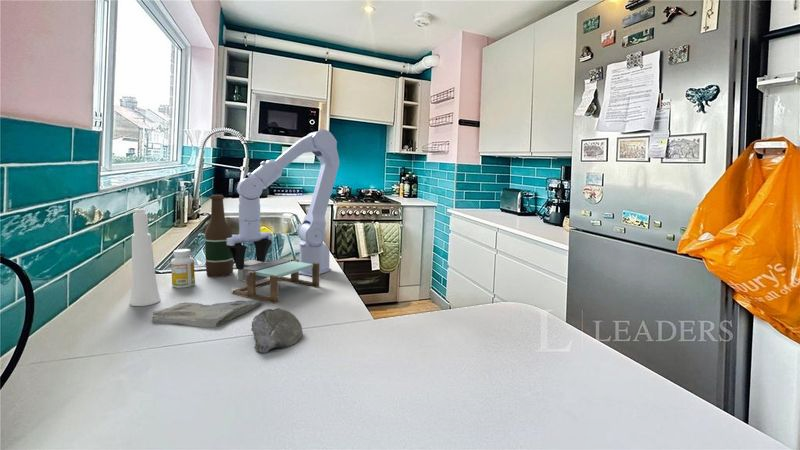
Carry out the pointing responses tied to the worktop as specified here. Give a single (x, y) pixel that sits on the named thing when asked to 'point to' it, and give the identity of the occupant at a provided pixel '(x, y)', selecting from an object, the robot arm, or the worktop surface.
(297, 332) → the fossilized seashell
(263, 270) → the trapdoor plate
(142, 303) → the cosmetic bottle
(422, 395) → the worktop surface
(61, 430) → the worktop surface
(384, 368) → the worktop surface
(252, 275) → the walnut frame
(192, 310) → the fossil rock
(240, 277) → the stone block
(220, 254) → the beer bottle
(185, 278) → the supplement bottle
